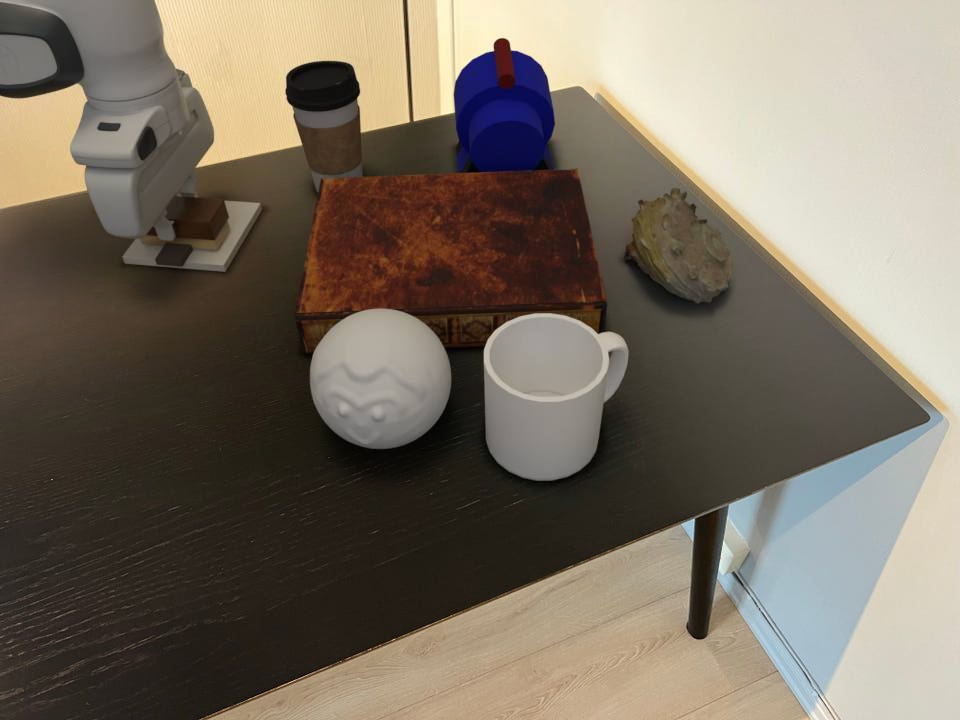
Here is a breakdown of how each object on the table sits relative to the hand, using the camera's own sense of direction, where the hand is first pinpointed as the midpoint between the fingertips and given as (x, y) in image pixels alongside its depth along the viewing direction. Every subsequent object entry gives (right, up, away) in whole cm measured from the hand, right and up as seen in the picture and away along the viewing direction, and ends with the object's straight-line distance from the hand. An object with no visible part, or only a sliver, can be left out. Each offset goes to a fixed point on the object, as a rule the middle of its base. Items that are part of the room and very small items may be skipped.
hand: (180, 221), depth 89 cm
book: (+31, -6, -2) cm, 31 cm away
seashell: (+55, -6, -3) cm, 55 cm away
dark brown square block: (0, -4, -1) cm, 4 cm away
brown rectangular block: (0, -1, +2) cm, 2 cm away
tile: (0, -1, +4) cm, 4 cm away
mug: (+40, -22, -18) cm, 49 cm away
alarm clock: (+37, +9, +13) cm, 40 cm away
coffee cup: (+16, +6, +10) cm, 20 cm away
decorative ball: (+25, -21, -17) cm, 37 cm away
